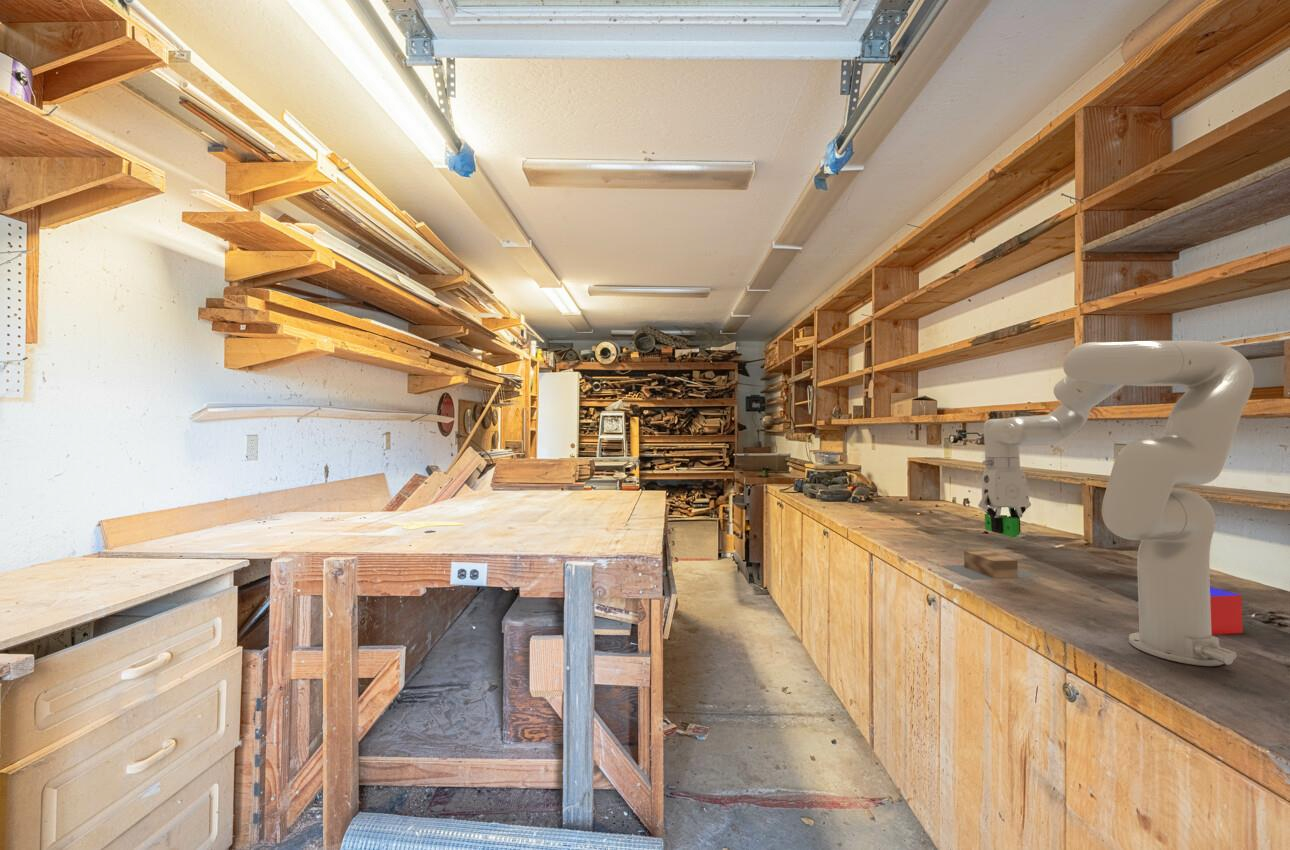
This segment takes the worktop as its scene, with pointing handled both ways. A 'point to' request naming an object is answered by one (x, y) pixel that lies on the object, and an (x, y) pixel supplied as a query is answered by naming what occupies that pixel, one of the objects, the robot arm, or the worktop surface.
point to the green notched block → (1005, 525)
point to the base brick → (991, 564)
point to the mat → (977, 576)
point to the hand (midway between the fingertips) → (1005, 531)
